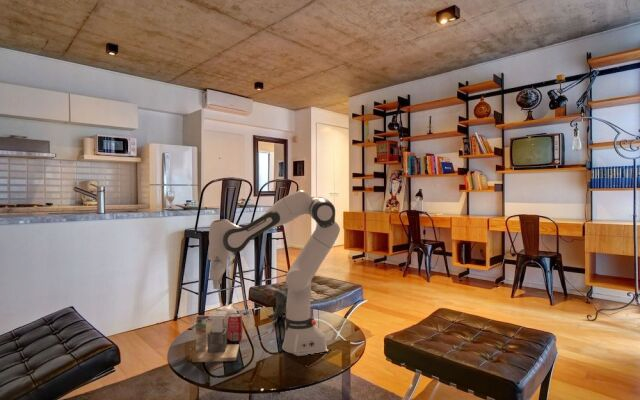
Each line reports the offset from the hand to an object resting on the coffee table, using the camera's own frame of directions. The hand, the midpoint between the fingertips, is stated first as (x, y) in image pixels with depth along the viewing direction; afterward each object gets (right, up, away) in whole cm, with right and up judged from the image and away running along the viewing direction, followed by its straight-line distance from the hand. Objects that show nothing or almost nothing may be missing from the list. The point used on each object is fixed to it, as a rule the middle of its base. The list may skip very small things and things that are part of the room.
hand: (217, 286), depth 163 cm
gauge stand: (0, -30, -3) cm, 30 cm away
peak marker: (-7, -15, -4) cm, 17 cm away
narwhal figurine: (+23, -30, +49) cm, 62 cm away
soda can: (+4, -30, +15) cm, 34 cm away
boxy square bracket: (-2, -22, -1) cm, 22 cm away
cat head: (-3, -30, +28) cm, 41 cm away
